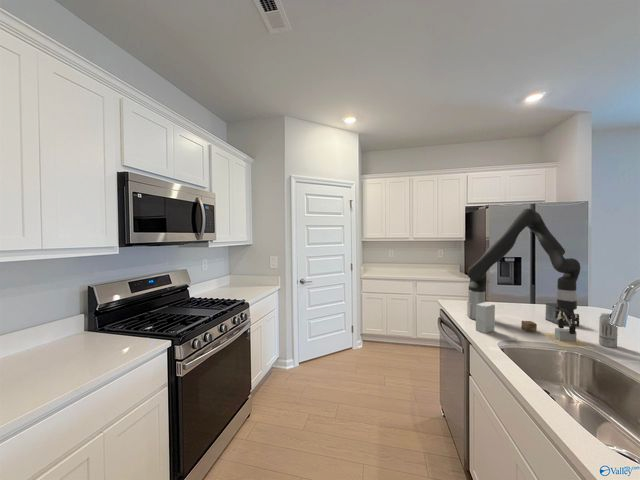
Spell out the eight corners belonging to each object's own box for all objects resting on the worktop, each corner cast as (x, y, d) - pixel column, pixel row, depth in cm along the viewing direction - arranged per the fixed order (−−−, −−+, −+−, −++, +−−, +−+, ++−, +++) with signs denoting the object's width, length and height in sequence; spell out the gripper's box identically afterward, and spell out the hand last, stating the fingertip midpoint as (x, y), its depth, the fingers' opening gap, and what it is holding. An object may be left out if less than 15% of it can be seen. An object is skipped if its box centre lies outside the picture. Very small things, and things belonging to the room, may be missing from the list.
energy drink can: (597, 345, 132) (598, 314, 132) (600, 342, 136) (601, 312, 135) (615, 350, 128) (616, 317, 127) (618, 346, 131) (619, 315, 131)
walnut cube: (525, 332, 150) (526, 323, 150) (521, 329, 155) (521, 320, 155) (536, 333, 149) (536, 324, 149) (531, 330, 154) (531, 321, 154)
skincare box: (484, 327, 158) (484, 301, 157) (495, 331, 152) (495, 304, 152) (474, 330, 154) (475, 303, 154) (485, 333, 149) (485, 306, 148)
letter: (560, 346, 132) (560, 345, 132) (539, 333, 149) (539, 332, 149) (595, 349, 129) (595, 348, 129) (569, 335, 146) (569, 334, 146)
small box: (570, 325, 161) (571, 307, 161) (559, 325, 161) (559, 307, 161) (555, 319, 172) (555, 302, 171) (544, 319, 172) (545, 302, 171)
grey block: (559, 340, 138) (559, 330, 138) (554, 337, 142) (554, 328, 141) (576, 342, 136) (576, 331, 136) (570, 338, 140) (571, 329, 140)
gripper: (549, 295, 146) (549, 325, 146) (567, 301, 132) (567, 335, 133) (566, 295, 145) (565, 326, 145) (585, 302, 131) (585, 336, 131)
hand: (566, 330), depth 139 cm, fingers open, 8 cm apart
